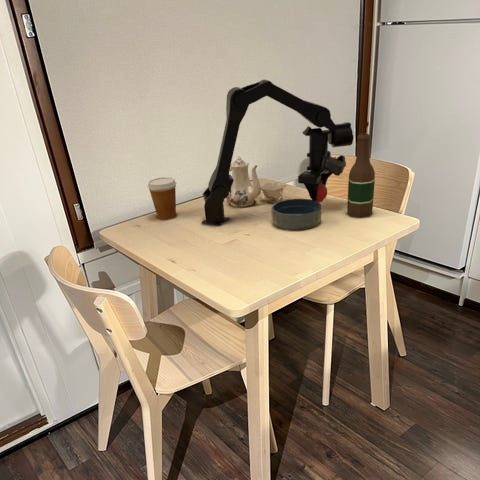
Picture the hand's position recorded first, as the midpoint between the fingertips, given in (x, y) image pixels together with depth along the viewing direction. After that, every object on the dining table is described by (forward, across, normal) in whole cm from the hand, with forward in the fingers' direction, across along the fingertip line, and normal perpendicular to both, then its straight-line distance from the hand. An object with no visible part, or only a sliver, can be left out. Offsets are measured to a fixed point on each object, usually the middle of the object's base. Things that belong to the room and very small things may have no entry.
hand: (317, 198), depth 160 cm
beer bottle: (+4, -1, -15) cm, 15 cm away
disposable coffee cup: (+4, -23, +46) cm, 51 cm away
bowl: (+3, -14, +2) cm, 14 cm away
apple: (+1, 0, 0) cm, 1 cm away
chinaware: (+4, 0, +26) cm, 27 cm away
